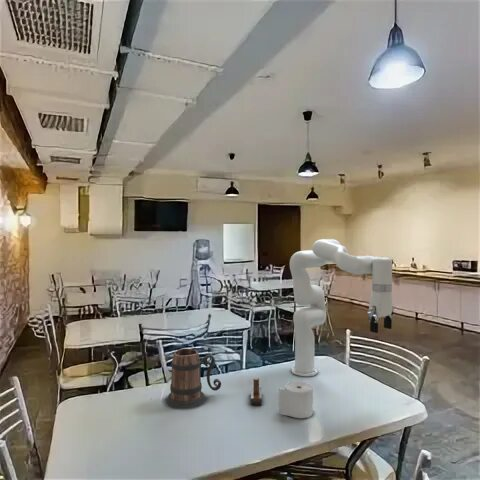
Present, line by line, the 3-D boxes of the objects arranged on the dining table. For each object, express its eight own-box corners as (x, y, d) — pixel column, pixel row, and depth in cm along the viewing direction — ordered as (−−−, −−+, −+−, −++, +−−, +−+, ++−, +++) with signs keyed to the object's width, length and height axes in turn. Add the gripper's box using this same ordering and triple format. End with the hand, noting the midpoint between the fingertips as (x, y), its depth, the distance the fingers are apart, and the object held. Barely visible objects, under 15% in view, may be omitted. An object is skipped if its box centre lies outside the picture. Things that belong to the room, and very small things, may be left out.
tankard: (169, 411, 158) (169, 360, 158) (161, 394, 174) (161, 348, 173) (227, 402, 167) (227, 354, 166) (214, 387, 183) (214, 342, 182)
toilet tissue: (318, 412, 159) (318, 386, 158) (300, 422, 150) (300, 396, 150) (295, 403, 166) (295, 379, 166) (277, 413, 157) (277, 387, 157)
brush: (250, 394, 175) (250, 373, 175) (261, 394, 175) (261, 373, 175) (250, 405, 164) (250, 383, 164) (261, 405, 164) (262, 383, 164)
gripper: (385, 285, 173) (384, 325, 174) (361, 289, 162) (360, 331, 163) (401, 287, 167) (400, 328, 168) (377, 291, 156) (377, 335, 157)
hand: (380, 330), depth 165 cm, fingers open, 9 cm apart
